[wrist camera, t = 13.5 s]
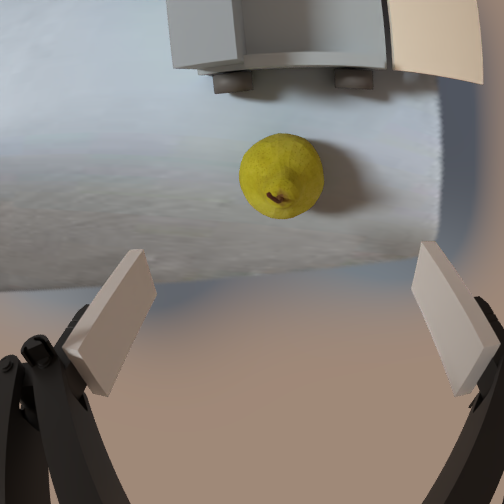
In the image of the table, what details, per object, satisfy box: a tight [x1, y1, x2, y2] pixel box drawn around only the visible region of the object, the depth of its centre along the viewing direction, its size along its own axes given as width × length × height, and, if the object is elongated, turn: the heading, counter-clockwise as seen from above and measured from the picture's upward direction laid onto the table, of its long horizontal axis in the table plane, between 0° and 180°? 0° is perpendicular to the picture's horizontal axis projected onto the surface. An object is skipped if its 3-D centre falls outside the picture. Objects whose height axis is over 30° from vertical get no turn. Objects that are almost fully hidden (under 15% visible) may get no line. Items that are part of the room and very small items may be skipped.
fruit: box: [239, 133, 324, 219], centre depth 23 cm, size 7×7×12 cm
